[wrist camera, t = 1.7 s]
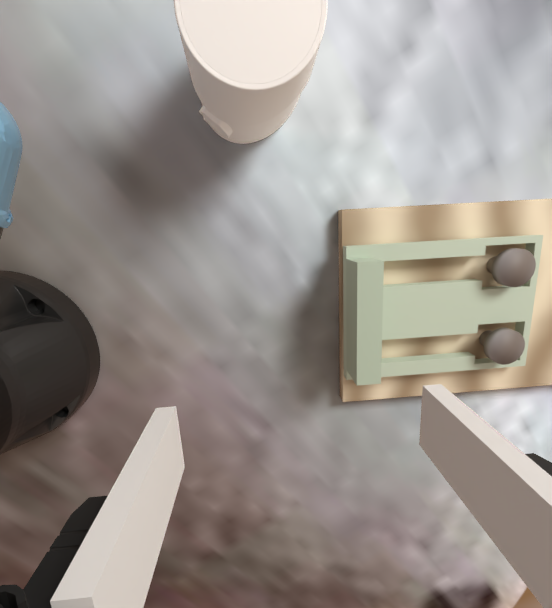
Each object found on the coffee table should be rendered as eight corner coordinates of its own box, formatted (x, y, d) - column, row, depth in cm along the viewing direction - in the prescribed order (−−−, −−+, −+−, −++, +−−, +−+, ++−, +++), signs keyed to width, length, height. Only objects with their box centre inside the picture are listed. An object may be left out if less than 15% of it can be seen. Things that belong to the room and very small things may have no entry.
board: (339, 395, 32) (350, 416, 29) (338, 210, 28) (350, 207, 24) (602, 374, 34) (643, 391, 30) (638, 194, 29) (691, 190, 26)
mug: (258, 136, 18) (133, 31, 16) (257, 167, 27) (177, 101, 25) (400, -70, 16) (274, -208, 15) (348, 38, 25) (267, -41, 24)
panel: (343, 375, 30) (356, 396, 26) (343, 245, 27) (357, 248, 23) (516, 361, 31) (554, 380, 27) (533, 234, 28) (577, 235, 24)
